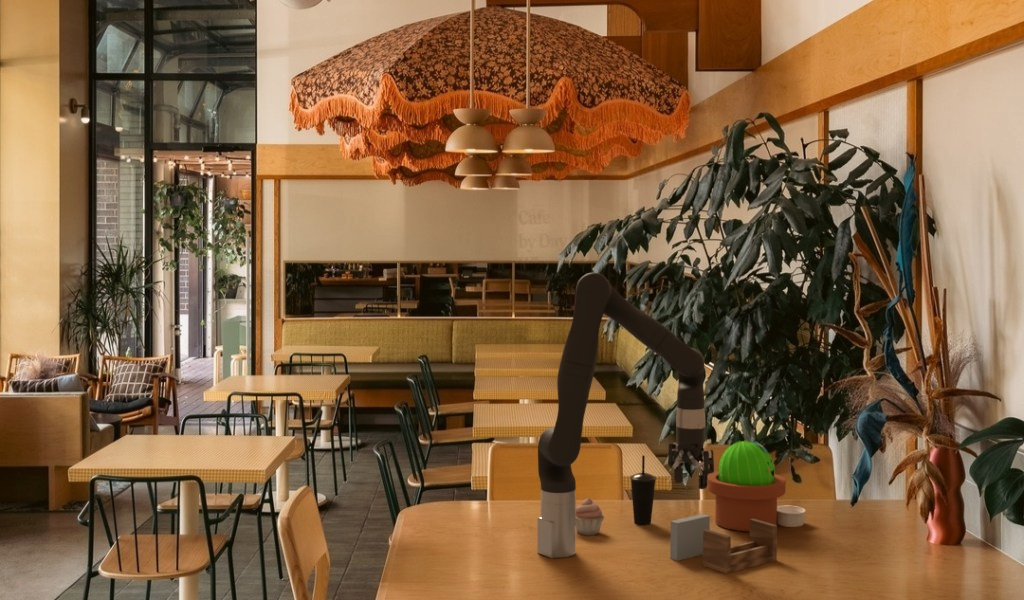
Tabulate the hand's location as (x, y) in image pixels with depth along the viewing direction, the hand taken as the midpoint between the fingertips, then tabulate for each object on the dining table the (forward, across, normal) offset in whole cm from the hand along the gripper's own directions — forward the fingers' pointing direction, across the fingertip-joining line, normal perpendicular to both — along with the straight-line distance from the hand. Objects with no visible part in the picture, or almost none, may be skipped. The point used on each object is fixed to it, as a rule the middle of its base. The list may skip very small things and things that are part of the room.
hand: (690, 485), depth 289 cm
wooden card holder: (+19, +12, +5) cm, 23 cm away
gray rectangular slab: (+19, 0, -1) cm, 19 cm away
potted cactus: (+19, -11, +35) cm, 41 cm away
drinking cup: (+19, -30, +11) cm, 37 cm away
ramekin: (+20, -4, +46) cm, 50 cm away
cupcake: (+18, -32, -8) cm, 38 cm away
